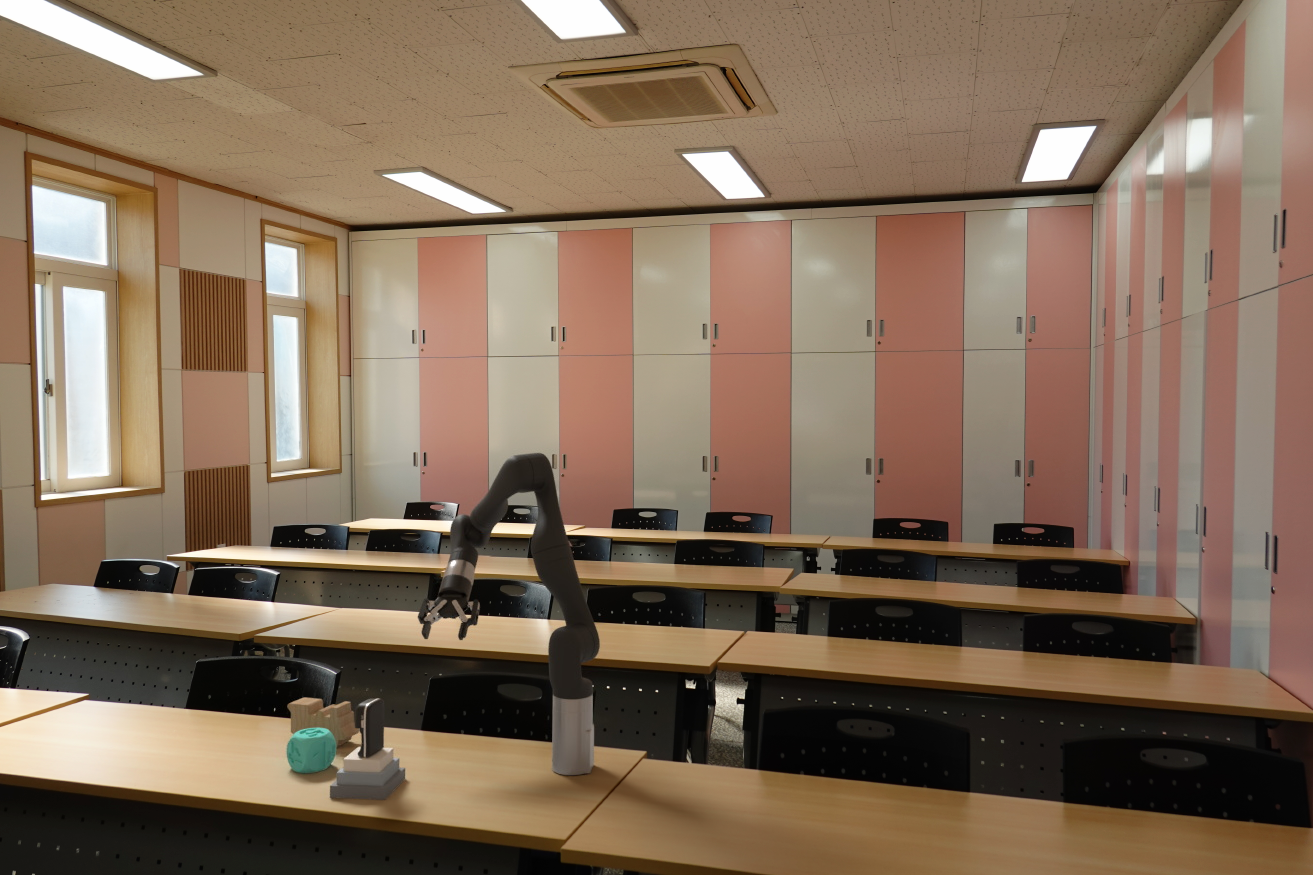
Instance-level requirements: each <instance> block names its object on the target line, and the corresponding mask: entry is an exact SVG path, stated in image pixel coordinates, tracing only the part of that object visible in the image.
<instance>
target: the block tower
mask: <svg viewBox="0 0 1313 875" xmlns="http://www.w3.org/2000/svg"><path fill="white" fill-rule="evenodd" d="M360 748H361V746H358V747H356V748H355V749H354V750H353V751H351V752H350V753H349V754H348V755H347V756H345V757H344V758H343V762H342V765H343V767H341V768H339V769H338V771H337V772H336V780H334V781H333V783H331V784H330V785H329V798H331V799H350V800H351V799H354V800H355V799H356V800H377V801H380V800H381V801H383V800H384V801H386V799H388V797H389V796H391V794H393V792H394V791H395V790H396V789H397V788H398V787H400V785H401V784H402V783H403V782H404V780H406V767H400V757H394V747H384V748H383V749H381V750H380V751H378V752H377V753H375V754H374V755H372V756H370V757H366V758H365V757H360V756H358V752H359V751H360Z"/></svg>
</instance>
